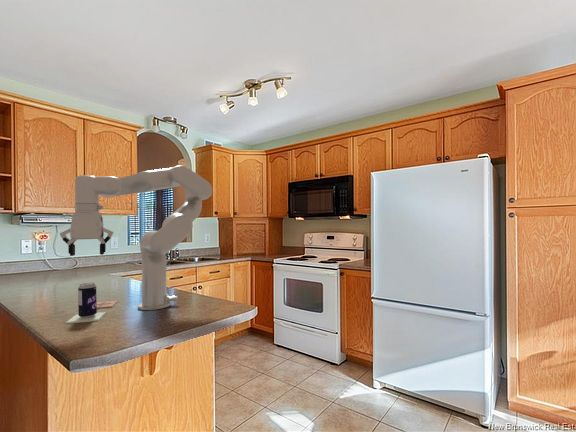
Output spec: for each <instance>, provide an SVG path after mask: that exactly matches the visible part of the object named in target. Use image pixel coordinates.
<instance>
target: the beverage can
mask: <svg viewBox="0 0 576 432" xmlns="http://www.w3.org/2000/svg"><path fill="white" fill-rule="evenodd" d="M77 294H78V301H77V302H78V305H77V306H78V314H79V316H80V317H81V318H90V317H93V316H94V315H95V314H96V313H98V311H97V302H98V301H97V285H96V283H95V282H85V283H84V282H83V283H80V284H79V286H78V289H77Z"/></svg>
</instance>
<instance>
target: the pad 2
mask: <svg viewBox="0 0 576 432" xmlns="http://www.w3.org/2000/svg"><path fill="white" fill-rule="evenodd" d="M118 301H119V300H110V301H97V309H98V310H99V309H110V308H111V309H112V308H113V307H114V306H115V305H116V304H117V303H118Z"/></svg>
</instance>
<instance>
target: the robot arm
mask: <svg viewBox="0 0 576 432" xmlns="http://www.w3.org/2000/svg"><path fill="white" fill-rule="evenodd" d="M178 187H183V188H184V189H185V190H184V203H182V205H181V206H179V208H177V209H176V210H175V211H173V212H172V213H171V214H169V216H167V217H166V218H165V219H164V220H163V222H162V223H161V224H162V226H161V227H160V228H159V229H158V230H150V231H147V232H146V233H144V234H143V235H142V237H141V239H140V243H139V246H140V255H141V303H139V304H138V305H137V309H138V310H142V311H155V310H160V309H161V310H162V309H165V308H168V307H170V306H171V302H178V299H179V298H178V297H179V296H178V295H176V296H175V295H172V296H171V295H169V293H168V292H167V257H166V256H167V255H166V254H168V253H169V252H171V251H172V250H174V248H175V247H177V246H178V245H179V244H180V243H181V242H183V240H184V239H186V238H187V237H188V236H189V235H190V233H191V232H192V231H193V226H194V224H193V222H194V221H195V220H196V219H198V217H199V216H200V214H201V212H202V209H203V207H202V206H203V201H204V200H208V199H209V198H210V197H211V196H212V194H213V187H212V185H211V183H210V182H209V181H208V180H207V179H205V178H203V177H202V176H201V175H199V174H198V173H196V172H195V171H193V170H192V169H190V168H188V167H186V166H184V165H182V164H181V165H176V166H173V167H169V168H168V167H167V168H162V169H161V168H159V169H154V170H153V169H151V170H145V171H144V170H143V171H139V172H137V173H134V174H132V175H131V174H129V175H126V176H121V177H116V176H113V175H111V176H110V175H107V176H103V175H102V176H95V175H78V176H76V177H75V178H74V212H73V213H72V216H71V222H70V228H69V229H66V230H64V231H62V232H60V233H59V236H60V237H61V239H62V241H63V242H64V243H65V244H66V245H67V247H68V251H67V252H68V254H69V256H70V257H72V256H73V257H74V256H75V255H76V244H75V242H76V241H78V240H98V242H100V244H99V255H100V256H101V255H104V254H105V253H106V244H107V243H108V242H109V241H110V240H111V238H112V237H113V235H114V231H112V230H111V229H108V228H105V227H104V220H103V219H104V218H103V213H102V212H100V211H101V210H104V206H103V205H100V204H99V202H100V196H101V197H102V198H113V197H119V196H126V195H132V194H141V193H147V192H154V191H158V190H166V189H172V188H178ZM105 233H106V234H107V236H106V237H105ZM68 234H69V235H70V238H68V236H67V235H68ZM104 237H105V238H104Z"/></svg>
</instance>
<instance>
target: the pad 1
mask: <svg viewBox="0 0 576 432" xmlns="http://www.w3.org/2000/svg"><path fill="white" fill-rule="evenodd" d="M106 314H107V313H106V311H104V312H97V313H96V314H95V315H94V316H93V317H90V318H81V317H80V316H79V313H78V314H77V313H76V314H75V315H73V317H70V319H69V320H67V321H66V323H65V324H78V323H87V322H88V323H89V322H90V323H91V322H98V321H100V320H101V319H102V318H103V317H104V316H105V315H106Z"/></svg>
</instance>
